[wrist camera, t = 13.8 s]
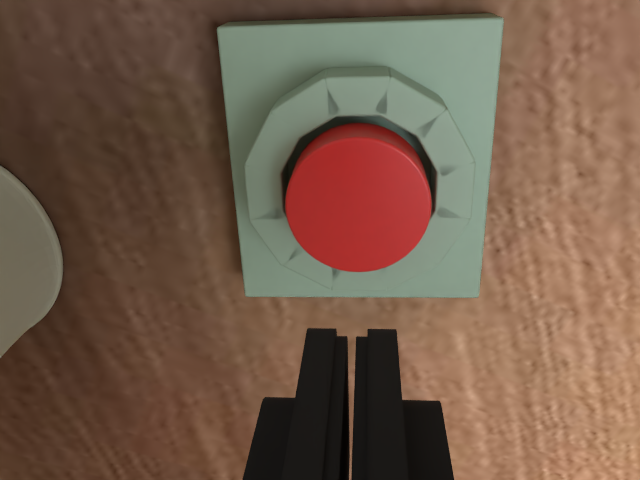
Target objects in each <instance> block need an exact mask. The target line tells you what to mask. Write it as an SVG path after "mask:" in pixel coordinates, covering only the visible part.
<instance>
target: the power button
mask: <svg viewBox="0 0 640 480" xmlns="http://www.w3.org/2000/svg"><path fill="white" fill-rule="evenodd" d="M431 208H432V202H431V193H430V188H429V184H428V181H427V177H426V173H425V170H424V167H423V164H422V162H421V160H420V158H419V156H418V154H417V153H416V151H415V150H414V148H413V147H412V146H411V145H410V144H409V143H408V142H407V141H406V140H405V139H404V138H402V137H401V136H400V135H398V134H397V133H395V132H394V131H391V130H389V129H387V128H385V127H382V126H379V125H375V124H369V123H348V124H344V125H339V126H336V127H333V128H331V129H329V130H327V131H325V132H323V133H321V134H320V135H318V136H317V137H316V138H314V139H313V140H312V141H311V142H310V143H309V144H308V145H307V146H306V147H305V149H304V150H303V151H302V153H301V154H300V156H299V158H298V160H297V162H296V164H295V167H294V169H293V172H292V175H291V178H290V181H289V184H288V187H287V191H286V198H285V210H286V217H287V221H288V224H289V227H290V229H291V231H292V234H293V235H294V237H295V239H296V240H297V242H298V243H299V244H300V245H301V247H302V248H303V249H304V250H305V251H306V252H307V253H308V254H309V255H311V256H312V257H313V258H315V259H316V260H318V261H319V262H321V263H323V264H325V265H327V266H329V267H332V268H335V269H338V270H343V271H348V272H369V271H374V270H379V269H382V268H385V267H387V266H390V265H392V264H394V263H396V262H398V261H399V260H401V259H402V258H404V257H405V256H406V255H408V254H409V253H410V252H411V251H412V250H413V249H414V248H415V247H416V245H417V244H418V243H419V242H420V240H421V238H422V237H423V235H424V233H425V231H426V229H427V226H428V224H429V220H430V216H431Z"/></svg>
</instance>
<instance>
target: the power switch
mask: <svg viewBox="0 0 640 480" xmlns="http://www.w3.org/2000/svg"><path fill="white" fill-rule="evenodd" d="M503 25H504V19H503V18H502V17H500V16H497V15H495V14H493V13H478V14H448V15H419V16H389V17H359V18H329V19H299V20H269V21H239V22H228V23H226V24H223V25H221V26H219V27H217V36H218V46H219V55H220V65H221V74H222V84H223V93H224V102H225V112H226V121H227V131H228V140H229V150H230V159H231V169H232V178H233V187H234V197H235V206H236V216H237V225H238V235H239V244H240V254H241V263H242V272H243V282H244V291H245V296H246V297H421V298H477V297H478V296H479V291H480V280H481V268H482V257H483V246H484V235H485V224H486V213H487V202H488V191H489V180H490V169H491V158H492V147H493V135H494V124H495V113H496V102H497V91H498V80H499V69H500V58H501V47H502V36H503ZM348 123H369V124H375V125H379V126H382V127H385V128H387V129H389V130H391V131H394V132H395V133H397V134H398V135H400V136H401V137H402V138H404V139H405V140H406V141H407V142H408V143H409V144H410V145H411V146H412V147H413V148H414V150H415V151H416V153H417V154H418V156H419V158H420V160H421V162H422V164H423V167H424V170H425V173H426V177H427V181H428V184H429V188H430V193H431V202H432V208H431V216H430V220H429V224H428V226H427V229H426V231H425V233H424V235H423V237H422V238H421V240H420V242H419V243H418V244H417V245H416V247H415V248H414V249H413V250H412V251H411V252H410V253H409V254H408V255H406V256H405V257H404V258H402V259H401V260H399V261H398V262H396V263H394V264H392V265H390V266H387V267H385V268H382V269H379V270H374V271H369V272H348V271H343V270H338V269H335V268H332V267H329V266H327V265H325V264H323V263H321V262H319V261H318V260H316V259H315V258H313V257H312V256H311V255H309V254H308V253H307V252H306V251H305V250H304V249H303V248H302V247H301V245H300V244H299V243H298V242H297V240H296V239H295V237H294V235H293V234H292V231H291V229H290V227H289V224H288V221H287V217H286V210H285V198H286V191H287V187H288V184H289V181H290V178H291V175H292V172H293V169H294V167H295V164H296V162H297V160H298V158H299V156H300V154H301V153H302V151H303V150H304V149H305V147H306V146H307V145H308V144H309V143H310V142H311V141H312V140H313V139H314V138H316V137H317V136H318V135H320V134H321V133H323V132H325V131H327V130H329V129H331V128H333V127H336V126H339V125H344V124H348Z"/></svg>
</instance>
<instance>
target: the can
mask: <svg viewBox="0 0 640 480" xmlns="http://www.w3.org/2000/svg"><path fill="white" fill-rule="evenodd" d="M62 277H63V258H62V252H61V246H60V243H59V239H58V236H57V234H56V232H55V229H54V227H53V224H52V222H51V220H50V219H49V217H48V215H47V213H46V212H45V210H44V208H43V207H42V205H41V204H40V203H39V201H38V200H37V199H36V197H35V196H34V195H33V194H32V193H31V192H30V191H29V189H28V188H27V187H26V186H25V185H24V184H23V183H22V182H20V181H19V180H18V179H17V178H16V177H15V176H14V175H12V174H11V173H10V172H9V171H8V170H6V169H5V168H3V167H2V166H0V358H1V357H2V355H3V354H4V353H5V352H6V351H7V350H8V349H9V348H10V347H11V346H12V345H13V344H14V343H15V342H16V341H17V340H18V339H19V338H20V337H21V336H22V335H23V334H24V333H25V332H26V331H27V330H28V329H29V328H31V327H32V326H34V325H35V324H36V323H38V322H39V321H40V320H41V319H42V318H43V317H44V316H45V315H46V314H47V313H48V311H49V310H50V309H51V307H52V306H53V304H54V302H55V300H56V298H57V296H58V294H59V291H60V287H61V283H62Z"/></svg>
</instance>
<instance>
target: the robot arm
mask: <svg viewBox="0 0 640 480" xmlns="http://www.w3.org/2000/svg"><path fill="white" fill-rule="evenodd" d="M243 480H349V393H348V341H347V336H337V332H336V329H317V328H308V329H307V333H306V339H305V345H304V350H303V356H302V362H301V368H300V374H299V379H298V385H297V391H296V397H295V398H277V397H265V398H264V399H263V401H262V404H261V408H260V412H259V416H258V420H257V424H256V428H255V432H254V436H253V440H252V444H251V448H250V452H249V456H248V460H247V464H246V468H245V472H244V476H243ZM352 480H454V477H453V471H452V465H451V459H450V453H449V447H448V441H447V436H446V430H445V424H444V418H443V412H442V407H441V403H440V401H420V400H402V393H401V381H400V368H399V355H398V343H397V331H396V329H368V337H356V360H355V390H354V420H353V450H352Z"/></svg>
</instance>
